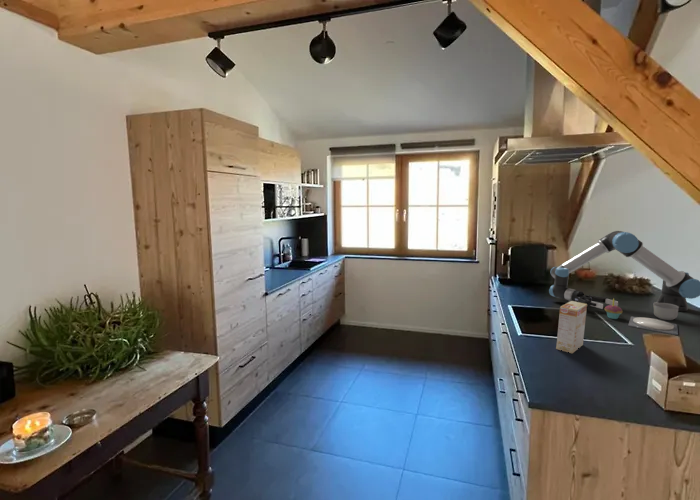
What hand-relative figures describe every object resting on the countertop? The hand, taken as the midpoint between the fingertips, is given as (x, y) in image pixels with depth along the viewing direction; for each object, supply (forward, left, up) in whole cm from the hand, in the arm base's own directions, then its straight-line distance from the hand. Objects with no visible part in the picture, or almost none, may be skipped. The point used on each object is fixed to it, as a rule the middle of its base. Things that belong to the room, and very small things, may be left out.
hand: (610, 305), depth 216 cm
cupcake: (0, +2, -7) cm, 7 cm away
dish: (+2, +20, -7) cm, 21 cm away
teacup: (-20, +24, -7) cm, 32 cm away
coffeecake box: (+66, -8, -7) cm, 67 cm away
